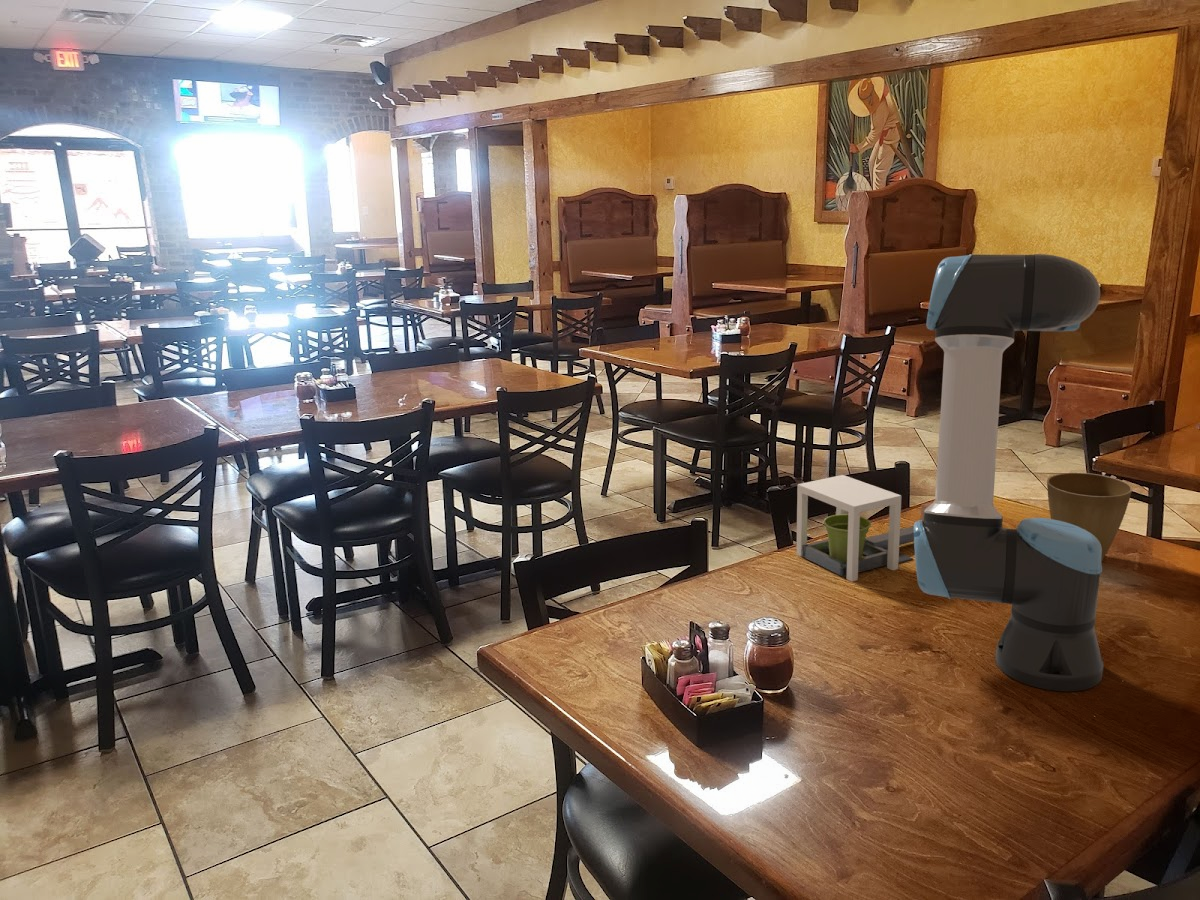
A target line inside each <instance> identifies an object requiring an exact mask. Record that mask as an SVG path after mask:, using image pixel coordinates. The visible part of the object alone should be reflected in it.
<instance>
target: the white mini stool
mask: <svg viewBox="0 0 1200 900" xmlns="http://www.w3.org/2000/svg"><path fill="white" fill-rule="evenodd" d="M796 492H797V493H796V495H797V496H796V497H797V499H796V500H797V502H796V503H797V504H796V555H797V556H798V557H802V550H803V545H806V544H808V511H809V510H808V506H809V504H808V503H809V500H808V499H809V497H810V498H813V499H815V500H818V501H821V502H822V503H824V504H825V503H826V504H827V505H831V506H833V507H835V508H836V510H835V511H836V513H835V515H840V514H848V545H847V576H846V580H848V582H849V581H850V582H851V583H852V582H856V581H858V580H859V572H858V555H859V525H860V517H861V513H863V512H868V511H873V510H877V509H880V508H881V509H882V508H884V507H889V513H888V532H889V534H888V548H887V549H885V550H888V557H887V565H886V568H887V569H889V570H890V571H895V570H899V564H902V563H905V562H909V561H913V560H914V557H911V556H909V555H907V554H904V553H903V552H900V545H899V538H900V529H901V515H902V495H901V494H898V493H895V492H893V491H890V490H886V489H884V488H881V487H879V486H876V485H873V484H870V483H866V482H864V481H861V480H859V479H856V478H853V477H851V476H847V475H844V474H841V475H836V476H831V477H830V476H829V477H827V478H826V477H825V478H822V479H817V480H812V481H807V482H802V483H798V484H797V491H796Z"/></svg>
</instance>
